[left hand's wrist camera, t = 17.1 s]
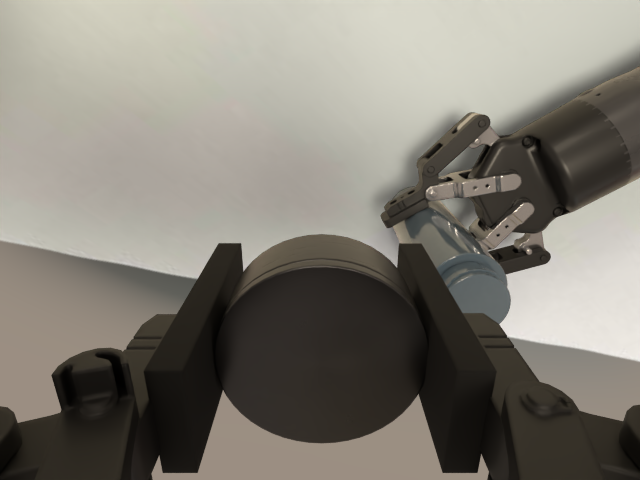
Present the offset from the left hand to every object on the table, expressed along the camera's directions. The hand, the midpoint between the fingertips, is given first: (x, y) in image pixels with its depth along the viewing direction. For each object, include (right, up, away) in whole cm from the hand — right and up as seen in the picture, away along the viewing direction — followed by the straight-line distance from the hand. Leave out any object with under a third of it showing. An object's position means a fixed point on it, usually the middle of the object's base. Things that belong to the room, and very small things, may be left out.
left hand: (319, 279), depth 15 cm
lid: (0, -2, -4) cm, 4 cm away
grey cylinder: (+9, +4, +26) cm, 28 cm away
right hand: (+7, +1, +21) cm, 22 cm away
